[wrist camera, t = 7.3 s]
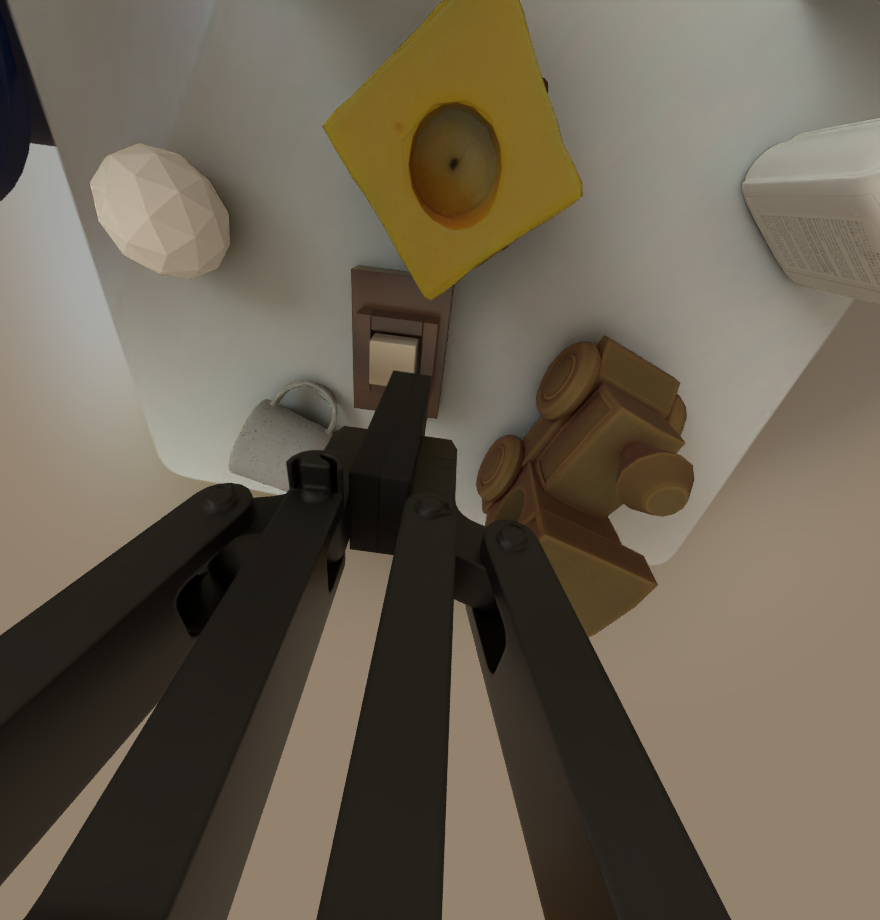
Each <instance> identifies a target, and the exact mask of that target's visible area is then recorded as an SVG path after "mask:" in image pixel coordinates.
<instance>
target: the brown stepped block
mask: <svg viewBox="0 0 880 920" xmlns="http://www.w3.org/2000/svg"><path fill="white" fill-rule="evenodd" d="M351 285H352V332H353V379H354V408H360V409H368V410H375V411H376V409H377V406H378V404H379V402H380V400H381V397H382V395H383V393H384V390H385V388H386V386H382V385H375V384H370V383H369V363H370V340H371V338H372V337H373V335H374V334H375V333H379V334H387V335H394V336H402V337H409V338H417V339H419V347H418V360H417V372H416V374H422V375H429V376H432V380H431V388H430V396H429V404H428V412H427V417H429V418H436V419H437V417H438V410H439V402H440V394H441V386H442V378H443V370H444V362H445V354H446V345H447V337H448V329H449V321H450V313H451V305H452V297H453V288H454V285H453V286H451V287H450V288H449V289H447V290H446V291H445V292H443V293H442V294H440V295H439V296H437V297H435V298H434V299H432V300H430V299H428V298H426V297H424V295H423V294H422V292H421V290H420V289H419V287H418V286H417V284H416V282H415V280H414V279H413V277H412V275H411V273H410V272H406V271H399V270H391V269H384V268H377V267H369V266H362V265H358V266H356V267H354V268H352V269H351Z"/></svg>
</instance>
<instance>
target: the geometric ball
mask: <svg viewBox="0 0 880 920" xmlns="http://www.w3.org/2000/svg"><path fill="white" fill-rule="evenodd" d="M90 186H91V191H92V195H93V199H94V203H95V208H96V212H97V216H98V220H99V222H100V223H101V225H102V226H103V228H104V229H105V230H106V232H107V233H108V234H109V236H110V237H111V239H112V240H113V241H114V243H115V244H116V245H117V247H118V248H119V250H120V251H121V252H122V254H123V255H124V256H126V257H128V258H130V259H132V260H134V261H135V262H137V263H139V264H141V265H143V266H144V267H146V268H148V269H150V270H152V271H153V272H155V273H157V274H163V275H169V276H175V277H181V278H186V279H194V278H196V277H198V276H201V275H203V274H205V273H208V272H210V271H212V270H215V269H217V268H219V266H220V264H221V262H222V260H223V258H224V256H225V254H226V252H227V250H228V248H229V246H230V235H229V214H228V212H227V210H226V208H225V206H224V205H223V203H222V201H221V200H220V198H219V196H218V194H217V193H216V191H215V189H214V188H213V186H212V184H211V182H210V181H209V180H208V179H207V178H206V177H205V176H204V175H202V174H201V173H200V172H199V171H198V170H197V169H196V168H194V167H193V166H192V165H191V164H190V163H189V162H188V161H186V160H185V159H184V158H183V157H182V156H181V155H180V154H178V153H174V152H170V151H166V150H163V149H159V148H155V147H152V146H148V145H144V144H141V143H137V144H135V145H132V146H130V147H127V148H125V149H122V150H120V151H117V152H115V153H112V154H110V155H107V156H106V157H105V159H104V160H103V162H102V163H101V165H100V167H99V168H98V170H97V172H96V173H95V175H94V176H93V178H92V180H91V181H90Z"/></svg>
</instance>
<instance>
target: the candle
mask: <svg viewBox="0 0 880 920" xmlns="http://www.w3.org/2000/svg"><path fill="white" fill-rule="evenodd" d="M547 93H548V82H547V81H546V79H545V78H543V77H542V75H541V72H540V69H539V66H538V63H537V60H536V56H535V53H534V49H533V46H532V42H531V39H530V36H529V32H528V28H527V24H526V20H525V16H524V12H523V9H522V6H521V3H520V0H443V1H442V2H441V3H440V4H439V5H438V6H437V8H436V9H435V10H434V11H433V12H432V13H431V14H430V16H429V17H428V18H427V19H426V20H425V21H424V22H423V24H422V25H421V26H420V27H419V28H418V29H417V30H416V31H415V32H414V33H413V34H412V35H411V36H410V37H409V38H408V39H407V40H406V41H405V42H404V43H403V44H402V45H401V47H400V48H399V49H398V50H397V51H396V52H395V53H394V54H393V55H392V56H391V57H390V58H389V59H388V60H387V61H386V62H385V63H384V64H383V65H382V66H381V67H380V68H379V69H378V70H377V71H376V72H375V73H374V74H373V75H372V76H371V77H370V78H369V79H368V80H367V81H366V82H365V83H364V84H363V85H362V86H361V87H360V88H359V89H358V90H357V91H356V92H355V93H354V95H353V96H351V97H350V98H349V99H348V100H347V101H346V102H345V103H343V104H342V105H341V106H340V107H339V108H338V109H336V111H335V112H334V113H333V114H332V115H331V116H330V118H329V119H328V120H327V121H326V122H325V124H324V125H323V126H322V127H323V129H324V130H325V132H326V134H327V135H328V137H329V139H330V141H331V142H332V144H333V146H334V148H335V149H336V151H337V153H338V154H339V156H340V158H341V159H342V161H343V163H344V164H345V166H346V168H347V169H348V171H349V173H350V174H351V176H352V178H353V179H354V181H355V182H356V183H357V185H358V186H359V188H360V189H361V191H362V192H363V194H364V195H365V196H366V198H367V200H368V201H369V203H370V204H371V206H372V208H373V209H374V211H375V212H376V214H377V216H378V217H379V219H380V220H381V222H382V224H383V226H384V227H385V229H386V231H387V233H388V235H389V237H390V238H391V240H392V242H393V244H394V246H395V248H396V250H397V251H398V253H399V255H400V257H401V259H402V260H403V262H404V263H405V265H406V267H407V268H408V270H409V272H410V273H411V275H412V277H413V279H414V280H415V282H416V284H417V286H418V287H419V289H420V290H421V292H422V294H423V295H424V297H426V298H428V299H430V300H432V299H434V298H435V297H437V296H439V295H440V294H442V293H443V292H445V291H446V290H447V289H449V288H450V287H451V286H453V285H454V284H455V283H456V282H458V281H459V280H460V279H461V278H462V277H464V276H465V275H466V274H467V273H468V272H469V271H470V270H472V269H474V268H475V267H477V266H479V265H481V264H483V263H484V262H485V261H487V260H488V259H489V258H491V257H492V256H493V255H495V254H496V253H498V252H499V251H501V250H503V249H505V248H506V247H508V245H509V244H511V243H512V242H514V241H515V240H517V239H518V238H519V237H521V236H522V235H524V234H525V233H527V232H528V231H530V230H532V229H533V228H535V227H537V226H539V225H540V224H542V223H544V222H545V221H547V220H549V219H550V218H552V217H554V216H555V215H557V214H558V213H560V212H561V211H563V210H565V209H566V208H568V207H569V206H571V205H572V204H573V203H575V202H576V201H577V200H579V199H580V198H581V197H582V196H583V192H582V182H581V179H580V177H579V175H578V173H577V170H576V168H575V166H574V164H573V162H572V160H571V158H570V156H569V154H568V152H567V150H566V148H565V146H564V144H563V142H562V139H561V135H560V131H559V127H558V123H557V119H556V117H555V114H554V111H553V108H552V106H551V103H550V100H549V97H548V94H547Z"/></svg>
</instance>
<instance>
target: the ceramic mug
mask: <svg viewBox="0 0 880 920" xmlns="http://www.w3.org/2000/svg"><path fill="white" fill-rule="evenodd" d="M301 386H308V387H310V388H312V389H313V390H315V391H316V392H318V393H320V394H321V395H322V397H323V399H324V400H327V401H328V403H329V404H330V405H331V408H332V419H331V423H330V426H329V428H327V429H326V428H325V427H323V426H320V425H318V424H317V423H314V422H311V421H309V420H307V419H305V418H303V417H302V416H300V415H298V414H296V413H294V412H292V411H290V410H288V409H287V408H285V407H283V406H281V405H279V402H280V400H281V399H282V398H283V396H284V395H285V394H286V393H287V392H288V391H289V390H291V389H294V388H296V387H301ZM337 414H338V410H337V404H336V401H335V399H334V397H333V396H332V394H331V393H330V392H329V391H328V390H327V389H326V388H324V387H323V386H321V385H320V384H317V383H315V382H312V381H298V382H295V383H292V384H289V385H288V386H286V387H285V388H283V389H282V390H281V391H280V392H279V393H278V395H277V396H276V397H275V398H274V400H273V401H270V400H267V399H265V400H263V401H261V402H260V403H259V404H258V405H257V406H256V407H255V408H254V410H253V411H252V412H251V414H250V415H249V417H248V419H247V420H246V422H245V424H244V425H243V427H242V429H241V431H240V433H239V436H238V438H237V440H236V442H235V445H234V447H233V450H232V453H231V456H230V461H229V470H230V472H231V473H234V474H237V475H240V476H243V477H246V478H249V479H252V480H255V481H258V482H261V483H263V484H266V485H269V486H272V487H275V488H278V489H281V490H284V491H286V492H288V490H289V481H288V474H287V466H286V461H287V460H288V459H289V458H290V457H292V456H293V455H295V454H298V453H300V452H303V451H308V450H324V449H325V447H326V445H327V444H328V442H329V440H330V438H331V437H332V435H333V433H332V430H333V428H334V426H335V424H336V419H337Z"/></svg>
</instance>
